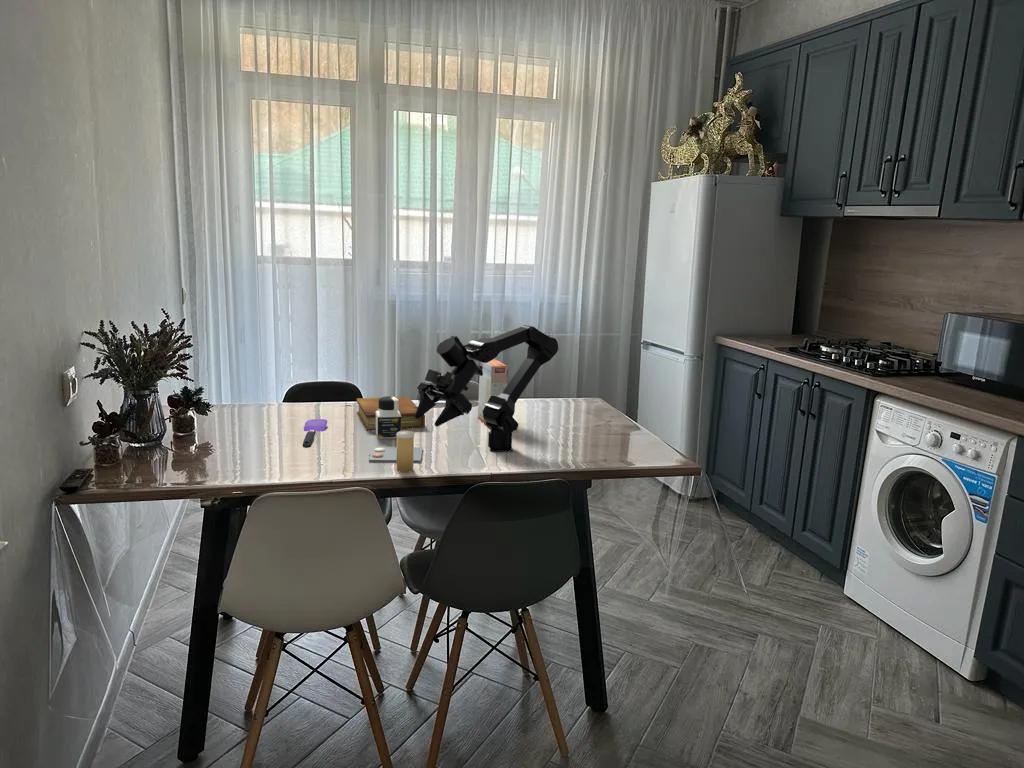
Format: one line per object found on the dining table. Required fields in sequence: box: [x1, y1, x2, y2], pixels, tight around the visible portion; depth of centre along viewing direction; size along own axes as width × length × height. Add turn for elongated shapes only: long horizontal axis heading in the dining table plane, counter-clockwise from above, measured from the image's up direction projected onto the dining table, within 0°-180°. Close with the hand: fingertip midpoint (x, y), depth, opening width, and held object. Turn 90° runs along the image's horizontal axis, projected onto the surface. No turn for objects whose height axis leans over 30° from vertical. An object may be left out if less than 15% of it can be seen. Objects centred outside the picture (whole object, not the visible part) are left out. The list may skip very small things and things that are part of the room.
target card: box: [368, 446, 423, 464], centre depth 197 cm, size 14×12×1 cm
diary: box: [356, 396, 426, 432], centre depth 233 cm, size 23×19×6 cm
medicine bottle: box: [375, 396, 402, 440], centre depth 215 cm, size 7×7×12 cm
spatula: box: [302, 418, 328, 448], centre depth 212 cm, size 24×7×2 cm, turn 8°
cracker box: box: [477, 358, 509, 429], centre depth 234 cm, size 14×6×21 cm, turn 18°
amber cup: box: [396, 430, 415, 473], centre depth 185 cm, size 5×5×10 cm
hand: (425, 421), depth 187 cm, fingers open, 9 cm apart
